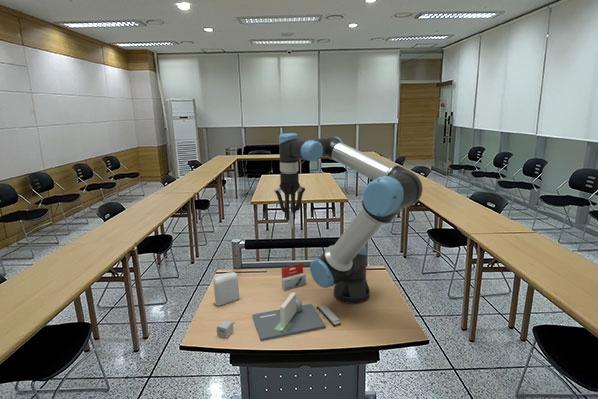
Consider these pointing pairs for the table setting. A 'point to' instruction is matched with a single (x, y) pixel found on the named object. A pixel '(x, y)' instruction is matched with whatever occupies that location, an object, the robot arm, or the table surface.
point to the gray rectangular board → (300, 323)
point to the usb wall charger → (224, 328)
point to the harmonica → (329, 315)
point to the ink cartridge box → (293, 277)
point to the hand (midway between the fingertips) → (290, 226)
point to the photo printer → (226, 288)
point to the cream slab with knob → (289, 309)
